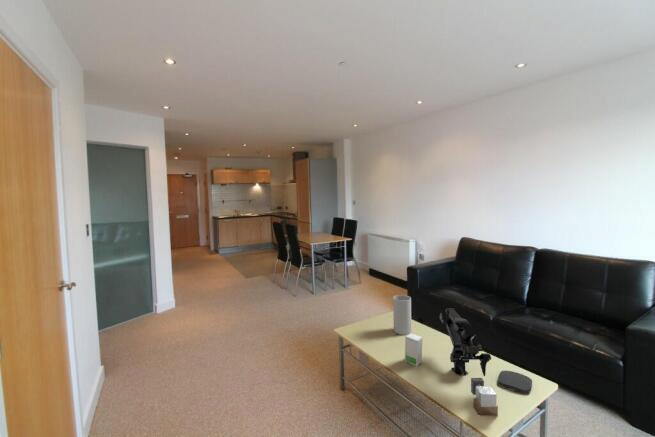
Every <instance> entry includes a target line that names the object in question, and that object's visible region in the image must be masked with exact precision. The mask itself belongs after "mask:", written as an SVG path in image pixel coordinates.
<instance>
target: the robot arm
mask: <svg viewBox="0 0 655 437" xmlns="http://www.w3.org/2000/svg"><path fill="white" fill-rule="evenodd" d="M439 320H440V321H441V324H442V325H443V326H445V327H446V330H447V333H448V335H449V336H448V337H449V339H450V342H451V345H452V350H451V351H452V352H451V353H450V357H449V359H450V362H451V363H453V367H451V370H452V371H453V372H454V373H455V374H456V375H457V376H460V375H463V376H464V377H466V376H467V375H468V374H469V372H468V371H467V370H466V363H467V364H469V362H470V360H471V361H473V360H474V361H475V360H476V361H478V360H479V366H480V368H481V372H482V375H483V377H486V369H487V364H488V363H489V362H490V361H491V360H492V356H491V354H490V353H488V352H487V353H485V352H484V353H481V352H483V347H482V345H481V344H475V345H474V343H473V339H474V338H475V336H476V335H477V329H476V328H475V327H474V326H472V325H471V323H470V322H469V321H468V320H467V319H466V318H462V317H461V316H460V315H459V314H458V312H457V310H456V309H455V308H452V307H451V308H450V307H449V308H446V309H445V310H443V311H441V312H440V314H439ZM458 332H459V333H458ZM478 354H480V355H478Z"/></svg>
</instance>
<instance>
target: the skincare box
mask: <svg viewBox="0 0 655 437" xmlns="http://www.w3.org/2000/svg"><path fill="white" fill-rule="evenodd" d="M404 339H405V341H404V342H405V343H404V362H405V363H409V364H410V365H413V366H416V367H418V366H419V365H420V364H422V362H423V336H419V335H418V334H414V333H412V332H411V333H410V334H407V335H405V338H404Z"/></svg>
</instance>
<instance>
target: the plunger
mask: <svg viewBox="0 0 655 437" xmlns="http://www.w3.org/2000/svg"><path fill="white" fill-rule="evenodd" d="M470 379H471V380H470V393H471V394H472V395H473V396H476V386H485V380H484V379H483V377H471V378H470Z"/></svg>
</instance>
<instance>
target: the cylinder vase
mask: <svg viewBox="0 0 655 437" xmlns="http://www.w3.org/2000/svg"><path fill="white" fill-rule="evenodd" d="M392 298H393V299H392V300H393V301H392V307H393V310H392V311H393V315H392V316H393V332H394V333H395V334H397V335H401V336H403V335H405V336H407V335H408V334H410V333H411V334H412V297H411V296H409V295H405V294H397V295H393V297H392Z"/></svg>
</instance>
